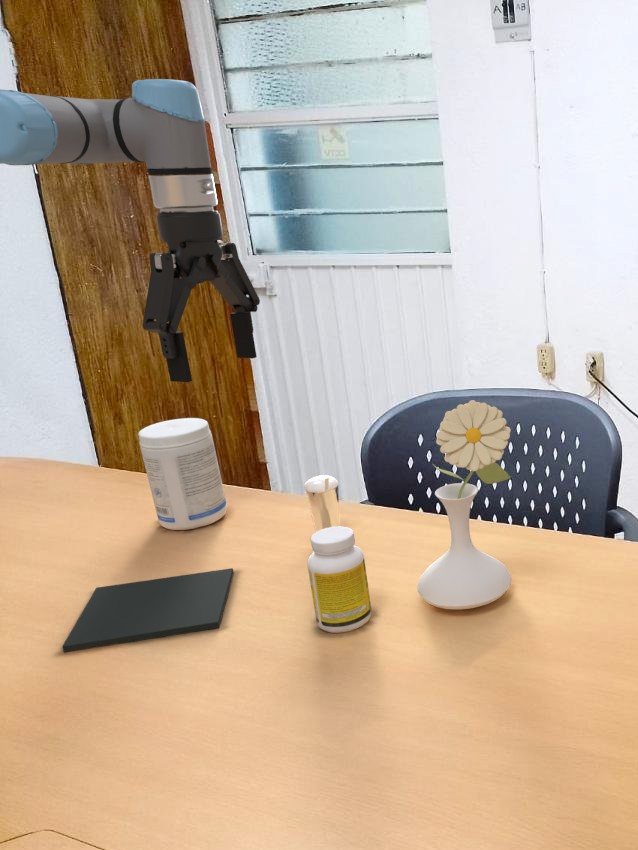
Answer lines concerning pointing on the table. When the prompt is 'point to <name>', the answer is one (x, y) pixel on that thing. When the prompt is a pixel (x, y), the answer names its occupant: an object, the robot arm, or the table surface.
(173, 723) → the table surface
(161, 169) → the robot arm
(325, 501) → the milkshake
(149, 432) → the supplement tub
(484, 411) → the flower in vase
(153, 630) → the mat
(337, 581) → the pill bottle
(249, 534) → the table surface
